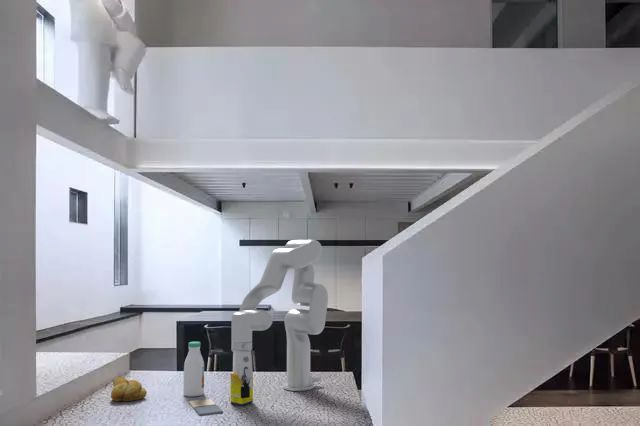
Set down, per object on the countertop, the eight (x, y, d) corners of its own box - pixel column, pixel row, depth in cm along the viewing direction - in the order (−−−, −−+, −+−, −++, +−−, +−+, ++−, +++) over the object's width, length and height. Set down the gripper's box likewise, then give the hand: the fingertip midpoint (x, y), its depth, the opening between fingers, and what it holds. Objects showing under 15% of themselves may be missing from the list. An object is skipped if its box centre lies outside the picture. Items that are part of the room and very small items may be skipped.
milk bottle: (198, 397, 208) (199, 344, 210) (179, 396, 210) (180, 343, 211) (207, 392, 216) (207, 341, 217) (188, 391, 217) (189, 340, 219)
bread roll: (149, 396, 211) (149, 375, 211) (141, 403, 201) (141, 381, 202) (115, 396, 211) (116, 375, 211) (105, 403, 201) (106, 381, 202)
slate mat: (217, 406, 196) (217, 405, 196) (222, 412, 189) (222, 411, 189) (194, 409, 193) (194, 407, 193) (199, 415, 185) (199, 413, 185)
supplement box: (241, 400, 205) (241, 370, 205) (253, 402, 201) (253, 372, 202) (230, 403, 200) (230, 373, 200) (242, 406, 196) (242, 375, 197)
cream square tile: (210, 400, 205) (210, 398, 205) (215, 405, 197) (215, 404, 197) (189, 402, 201) (189, 401, 201) (193, 408, 194) (193, 406, 194)
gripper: (259, 349, 195) (259, 399, 194) (244, 341, 211) (244, 388, 210) (238, 351, 192) (238, 402, 191) (225, 343, 208) (225, 390, 207)
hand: (241, 394), depth 201 cm, fingers closed on supplement box, 8 cm apart
